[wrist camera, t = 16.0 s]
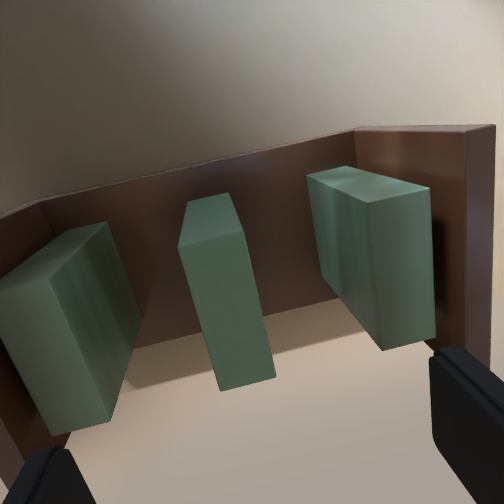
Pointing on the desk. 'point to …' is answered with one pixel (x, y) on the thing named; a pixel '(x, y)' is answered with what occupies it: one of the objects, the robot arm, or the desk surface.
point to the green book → (225, 292)
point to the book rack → (261, 255)
